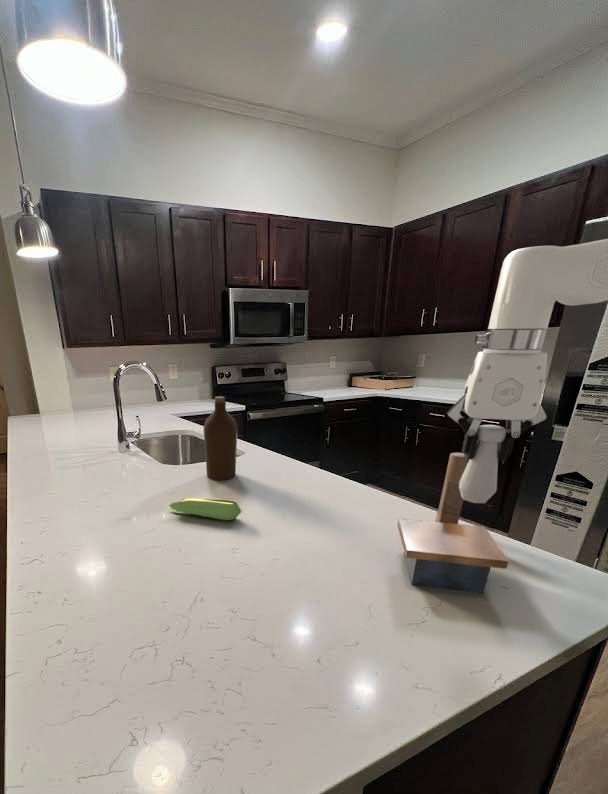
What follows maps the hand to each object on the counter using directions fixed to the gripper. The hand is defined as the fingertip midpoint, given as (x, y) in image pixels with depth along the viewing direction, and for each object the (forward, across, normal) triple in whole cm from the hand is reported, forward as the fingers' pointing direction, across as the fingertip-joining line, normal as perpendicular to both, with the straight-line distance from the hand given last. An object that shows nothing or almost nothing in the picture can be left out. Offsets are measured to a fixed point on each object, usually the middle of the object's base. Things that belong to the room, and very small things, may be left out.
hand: (484, 457), depth 71 cm
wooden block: (+24, +1, +18) cm, 30 cm away
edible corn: (+24, -56, +15) cm, 62 cm away
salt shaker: (+8, 0, 0) cm, 8 cm away
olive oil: (+24, -60, +47) cm, 80 cm away
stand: (+23, -3, 0) cm, 24 cm away
